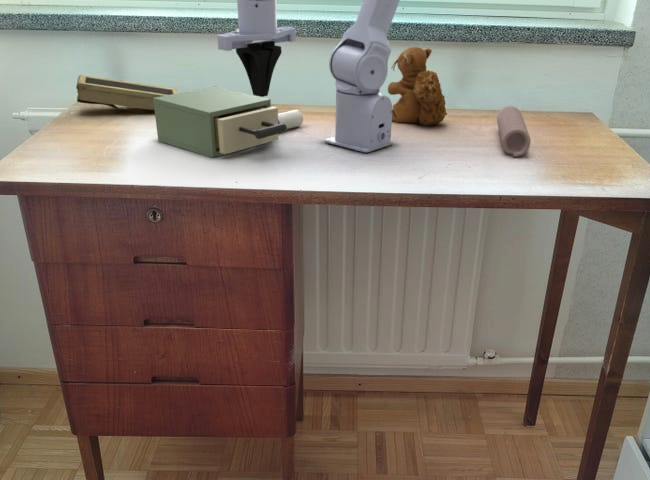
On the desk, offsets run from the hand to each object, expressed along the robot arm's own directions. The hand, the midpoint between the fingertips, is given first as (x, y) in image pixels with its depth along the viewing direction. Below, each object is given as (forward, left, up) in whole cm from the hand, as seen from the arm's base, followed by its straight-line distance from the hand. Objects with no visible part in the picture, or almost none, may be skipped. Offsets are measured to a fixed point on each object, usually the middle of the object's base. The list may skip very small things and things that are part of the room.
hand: (260, 95), depth 108 cm
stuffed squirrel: (-5, -38, -10) cm, 39 cm away
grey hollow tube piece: (-26, -37, -10) cm, 46 cm away
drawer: (+6, 0, -9) cm, 11 cm away
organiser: (+12, 0, -9) cm, 15 cm away
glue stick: (+9, -14, -9) cm, 19 cm away
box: (+39, -4, -10) cm, 40 cm away
